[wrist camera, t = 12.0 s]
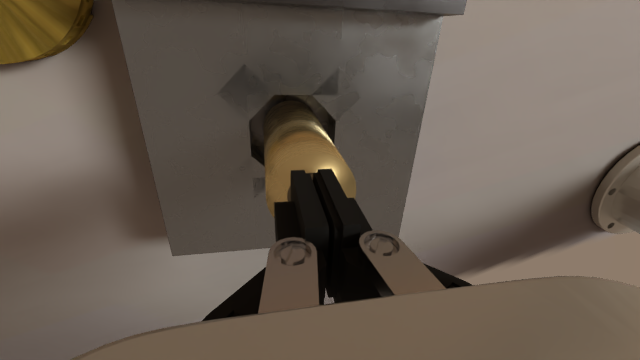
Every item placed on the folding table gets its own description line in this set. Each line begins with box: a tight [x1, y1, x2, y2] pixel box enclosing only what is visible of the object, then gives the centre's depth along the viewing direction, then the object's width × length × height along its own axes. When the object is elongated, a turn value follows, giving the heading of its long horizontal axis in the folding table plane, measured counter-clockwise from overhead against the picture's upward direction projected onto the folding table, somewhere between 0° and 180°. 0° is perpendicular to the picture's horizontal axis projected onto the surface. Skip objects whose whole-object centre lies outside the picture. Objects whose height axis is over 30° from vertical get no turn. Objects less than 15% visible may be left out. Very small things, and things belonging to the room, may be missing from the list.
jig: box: [112, 0, 467, 256], centre depth 20 cm, size 18×18×6 cm
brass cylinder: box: [263, 101, 356, 217], centre depth 17 cm, size 4×4×10 cm
